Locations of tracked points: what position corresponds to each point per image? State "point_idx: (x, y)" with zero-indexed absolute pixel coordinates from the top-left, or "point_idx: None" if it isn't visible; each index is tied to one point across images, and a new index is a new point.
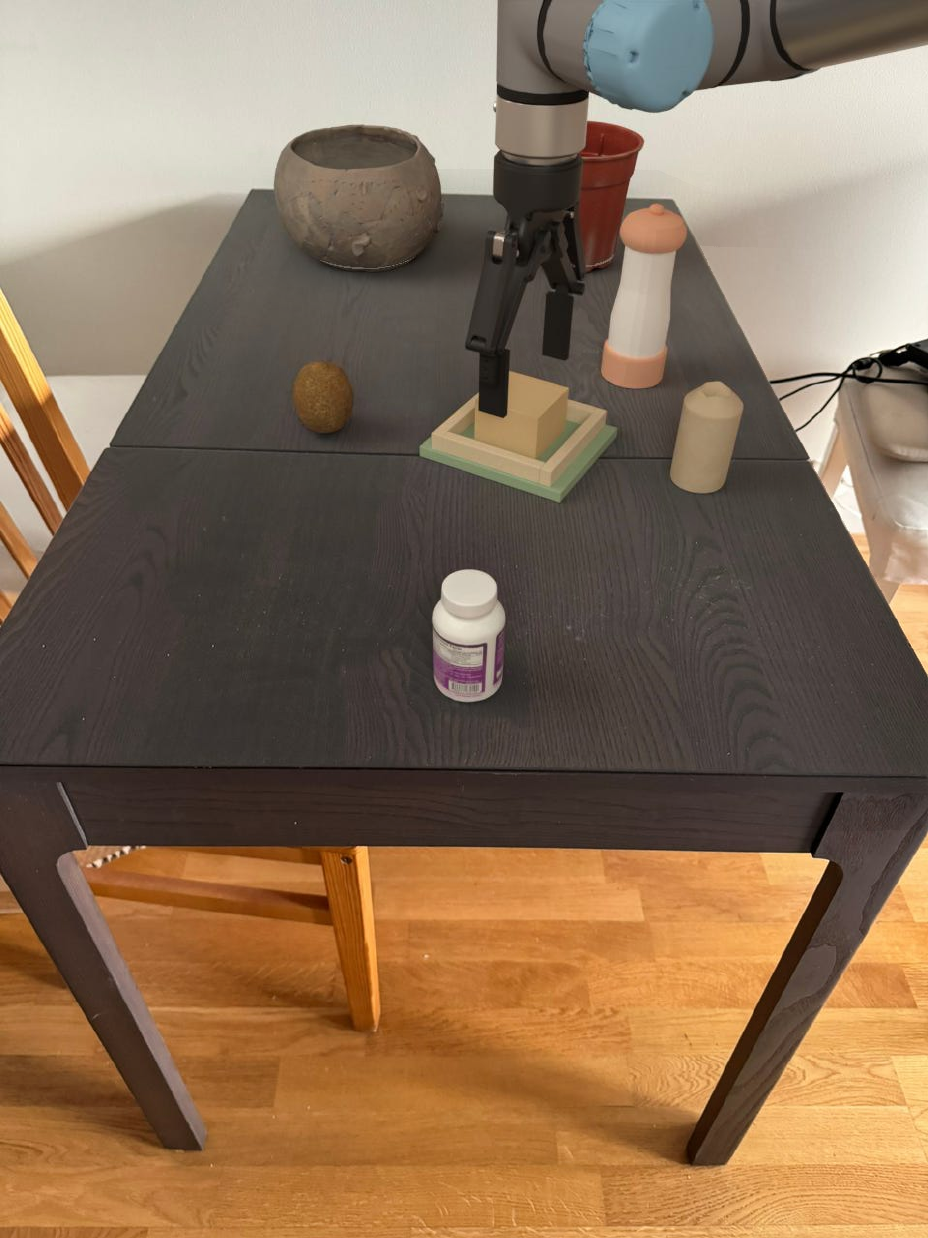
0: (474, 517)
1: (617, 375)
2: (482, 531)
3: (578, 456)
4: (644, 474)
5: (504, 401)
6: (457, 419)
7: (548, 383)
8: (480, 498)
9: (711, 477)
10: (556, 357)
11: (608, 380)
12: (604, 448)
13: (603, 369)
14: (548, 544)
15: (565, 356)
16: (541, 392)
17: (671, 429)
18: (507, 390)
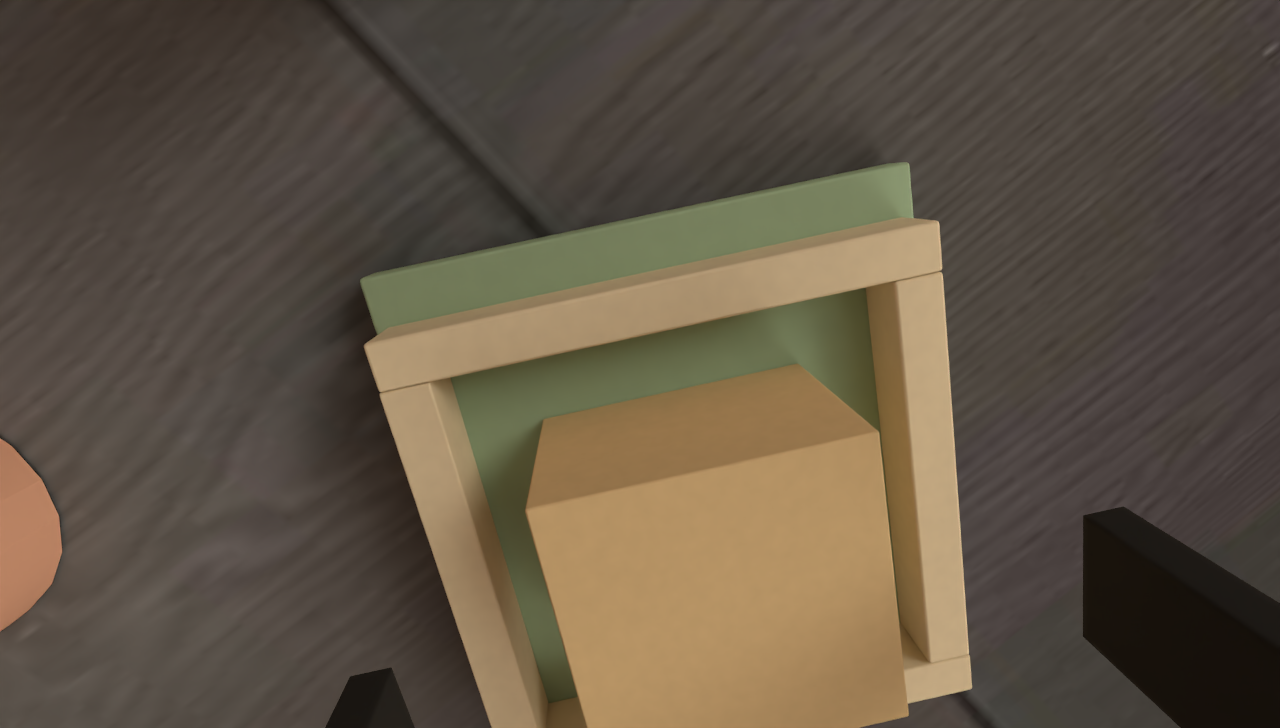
0: (1110, 327)
1: (19, 530)
2: (1160, 259)
3: (655, 267)
4: (508, 21)
5: (1207, 560)
6: None
7: (568, 600)
8: (1013, 381)
9: None
10: (406, 716)
11: (59, 547)
12: (494, 248)
13: (26, 602)
14: (1115, 39)
15: (383, 688)
16: (662, 570)
17: (128, 134)
18: (1224, 605)
